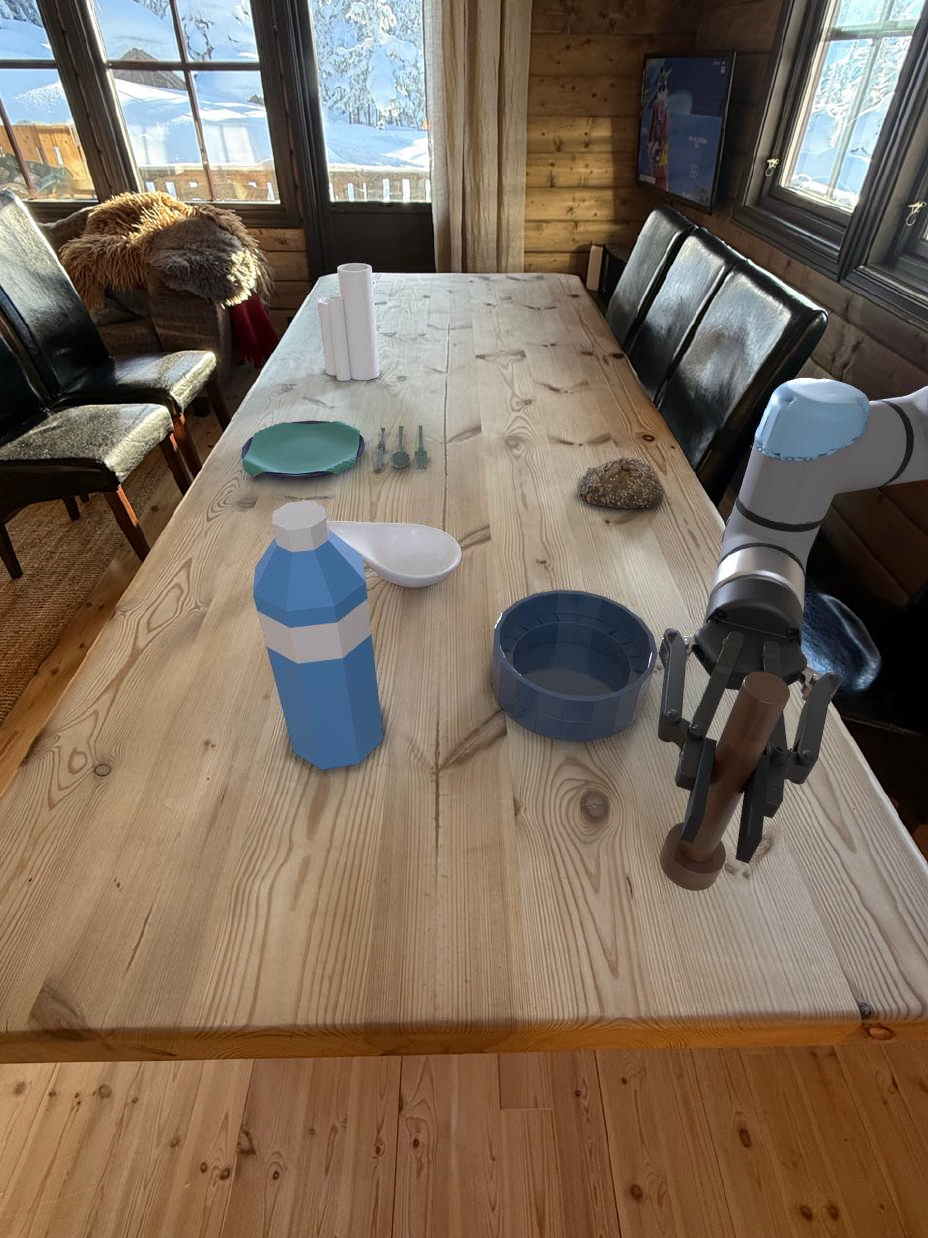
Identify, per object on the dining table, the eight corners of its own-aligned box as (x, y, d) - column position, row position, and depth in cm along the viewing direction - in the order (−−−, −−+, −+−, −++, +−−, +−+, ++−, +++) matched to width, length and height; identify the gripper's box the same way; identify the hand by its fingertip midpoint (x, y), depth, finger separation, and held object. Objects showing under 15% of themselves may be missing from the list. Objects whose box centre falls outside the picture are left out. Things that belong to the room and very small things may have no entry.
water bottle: (311, 690, 69) (266, 477, 53) (396, 704, 68) (378, 490, 52) (274, 761, 62) (210, 542, 46) (368, 778, 61) (336, 558, 45)
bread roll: (665, 515, 96) (672, 485, 93) (579, 509, 97) (584, 479, 94) (656, 472, 106) (663, 444, 102) (579, 467, 107) (583, 439, 103)
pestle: (726, 860, 52) (817, 683, 39) (703, 903, 49) (792, 728, 36) (674, 828, 54) (744, 650, 41) (649, 867, 51) (715, 690, 38)
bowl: (671, 677, 71) (685, 633, 67) (593, 773, 62) (603, 728, 57) (546, 615, 79) (551, 571, 75) (460, 691, 69) (460, 646, 65)
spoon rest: (458, 546, 90) (458, 500, 85) (464, 600, 81) (465, 552, 76) (282, 551, 88) (273, 504, 84) (268, 607, 79) (257, 559, 75)
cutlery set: (255, 431, 116) (253, 418, 114) (426, 428, 117) (425, 416, 115) (231, 488, 101) (228, 475, 99) (427, 484, 102) (427, 471, 100)
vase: (381, 368, 139) (373, 263, 126) (377, 381, 133) (369, 272, 120) (328, 367, 139) (315, 262, 126) (321, 380, 133) (307, 271, 120)
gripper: (837, 668, 56) (837, 920, 40) (653, 620, 61) (585, 827, 44) (873, 600, 51) (890, 855, 35) (670, 553, 56) (601, 758, 40)
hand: (719, 839), depth 40 cm, fingers closed on pestle, 3 cm apart
